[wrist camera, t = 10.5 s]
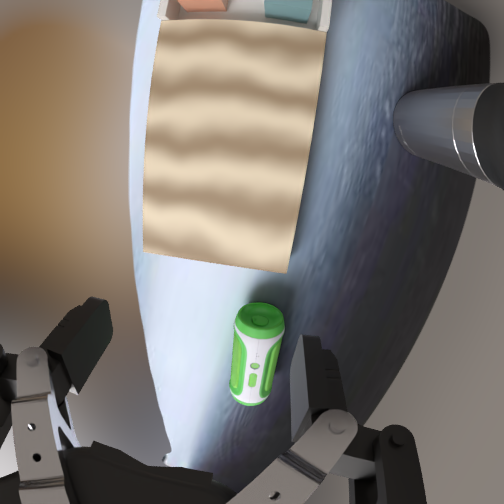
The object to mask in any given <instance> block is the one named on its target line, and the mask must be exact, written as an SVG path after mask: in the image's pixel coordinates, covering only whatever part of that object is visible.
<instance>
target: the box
mask: <svg viewBox="0 0 504 504" xmlns="http://www.w3.org/2000/svg"><path fill="white" fill-rule="evenodd" d="M331 6H332V0H313V3H312V10H311V13H310V16H309V18H308V21H307V24H304V23H298V22H293V21H287V20H280V19H273V18H266V17H265V9H264V0H228V7H227V12H187V11H186V10H185V9H184V8H183V7H182V6H181V5H180V3H179V2H178V1H177V0H161V1H160V5H159V9H158V14H157V17H158V18H159V19H161V20H162V21H166V20H188V19H220V20H241V21H254V22H265V23H273V24H281V25H288V26H295V27H301V28H306V29H312V30H317V31H322V32H327V31H328V29H329V24H330V15H331Z"/></svg>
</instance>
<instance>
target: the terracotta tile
mask: <svg viewBox="0 0 504 504" xmlns="http://www.w3.org/2000/svg"><path fill="white" fill-rule="evenodd" d="M177 1H178V2H179V3H180V5H181V6H182V7H183V8H184V9H185V10H186V11H187V12H227V7H228V0H177Z"/></svg>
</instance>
